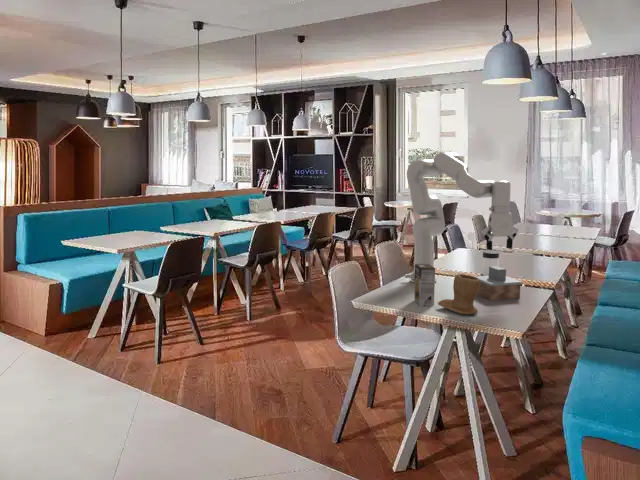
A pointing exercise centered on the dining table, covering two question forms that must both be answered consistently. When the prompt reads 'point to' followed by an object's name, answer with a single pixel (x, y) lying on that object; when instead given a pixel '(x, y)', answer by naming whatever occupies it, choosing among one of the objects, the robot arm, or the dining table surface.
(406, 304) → the dining table surface
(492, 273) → the lid
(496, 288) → the box
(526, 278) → the dining table surface
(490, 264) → the jar
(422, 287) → the coffee box
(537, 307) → the dining table surface
